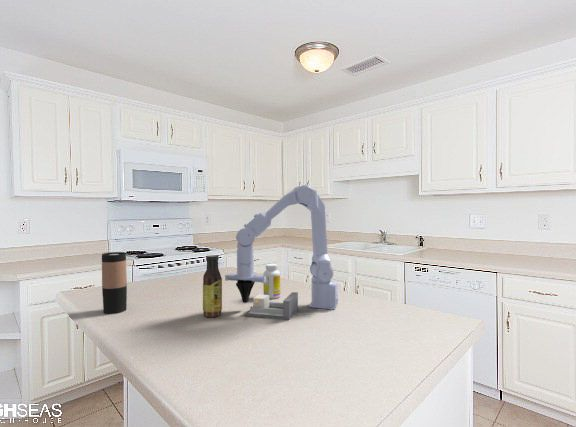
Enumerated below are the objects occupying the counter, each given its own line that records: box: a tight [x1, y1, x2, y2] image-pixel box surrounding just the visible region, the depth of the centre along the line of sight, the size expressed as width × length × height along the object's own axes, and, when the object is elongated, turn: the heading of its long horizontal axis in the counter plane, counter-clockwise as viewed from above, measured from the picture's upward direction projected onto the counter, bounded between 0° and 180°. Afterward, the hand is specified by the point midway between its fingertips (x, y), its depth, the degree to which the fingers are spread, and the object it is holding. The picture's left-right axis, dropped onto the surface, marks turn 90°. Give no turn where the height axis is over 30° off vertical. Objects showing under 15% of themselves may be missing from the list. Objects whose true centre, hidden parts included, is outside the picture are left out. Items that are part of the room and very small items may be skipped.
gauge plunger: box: [252, 293, 270, 308], centre depth 116 cm, size 4×8×4 cm, turn 164°
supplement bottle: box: [262, 263, 281, 300], centre depth 135 cm, size 7×7×13 cm
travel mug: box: [101, 251, 128, 315], centre depth 119 cm, size 8×8×20 cm
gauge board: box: [245, 291, 299, 321], centre depth 116 cm, size 15×11×6 cm
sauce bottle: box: [202, 254, 223, 318], centre depth 114 cm, size 6×6×20 cm
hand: (245, 302), depth 119 cm, fingers closed
